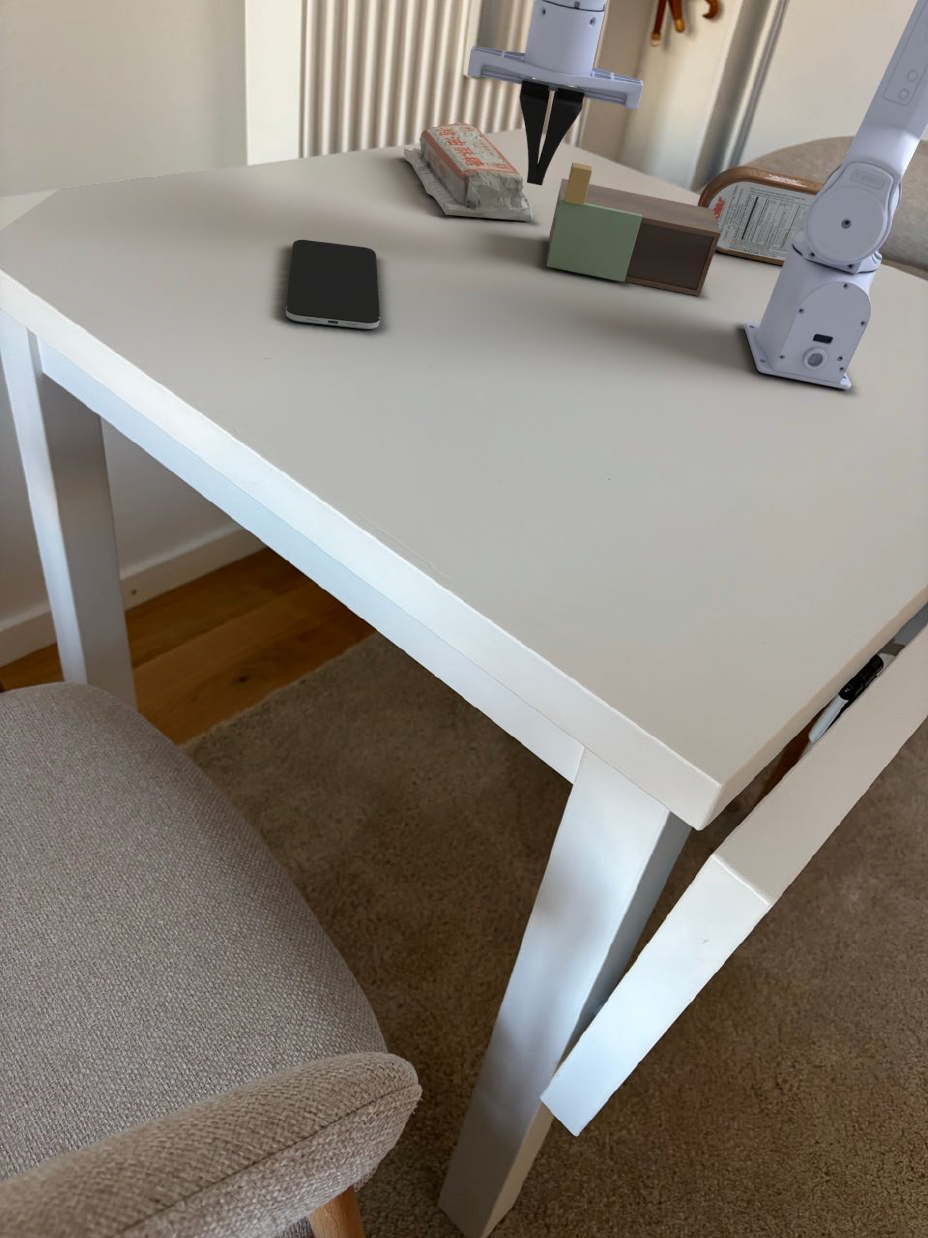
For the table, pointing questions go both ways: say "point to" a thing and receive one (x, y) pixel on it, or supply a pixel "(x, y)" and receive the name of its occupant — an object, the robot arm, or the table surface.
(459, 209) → the packaged product
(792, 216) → the tin
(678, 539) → the table surface
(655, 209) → the cupboard
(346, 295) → the smartphone
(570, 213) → the sliding door
